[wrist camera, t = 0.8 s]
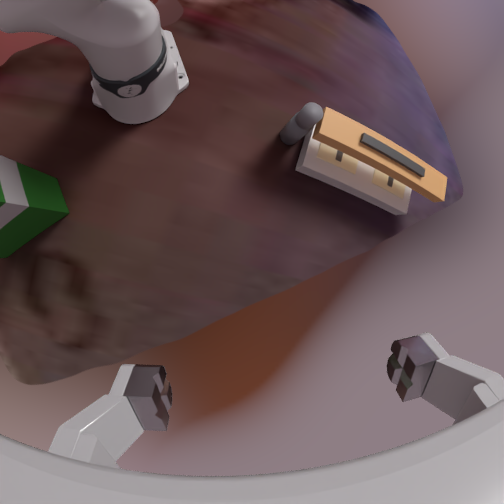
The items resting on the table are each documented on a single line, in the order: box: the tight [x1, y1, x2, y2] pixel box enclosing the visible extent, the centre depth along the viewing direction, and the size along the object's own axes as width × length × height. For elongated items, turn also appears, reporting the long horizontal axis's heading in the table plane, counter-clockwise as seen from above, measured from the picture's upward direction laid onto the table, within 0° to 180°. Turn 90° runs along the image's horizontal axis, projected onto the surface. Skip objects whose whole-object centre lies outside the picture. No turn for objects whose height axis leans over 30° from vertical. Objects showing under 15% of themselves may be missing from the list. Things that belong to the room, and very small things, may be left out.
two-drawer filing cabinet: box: [280, 112, 412, 215], centre depth 51 cm, size 29×12×8 cm, turn 72°
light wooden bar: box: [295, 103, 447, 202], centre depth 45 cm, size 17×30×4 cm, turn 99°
